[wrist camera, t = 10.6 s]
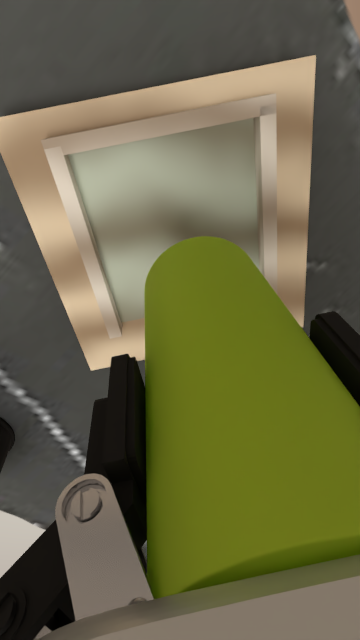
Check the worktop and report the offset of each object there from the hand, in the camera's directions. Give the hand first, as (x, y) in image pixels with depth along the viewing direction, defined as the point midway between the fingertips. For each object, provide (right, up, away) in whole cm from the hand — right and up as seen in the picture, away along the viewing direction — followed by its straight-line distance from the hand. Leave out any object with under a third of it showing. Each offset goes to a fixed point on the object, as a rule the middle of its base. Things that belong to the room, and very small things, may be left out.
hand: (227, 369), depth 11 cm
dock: (-2, +9, +16) cm, 19 cm away
